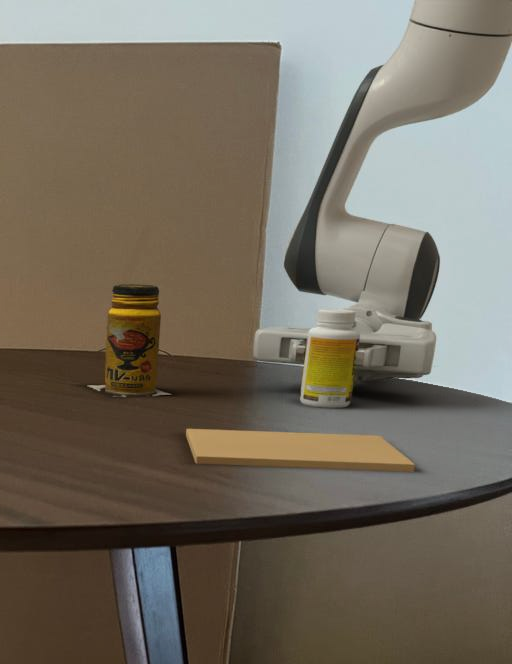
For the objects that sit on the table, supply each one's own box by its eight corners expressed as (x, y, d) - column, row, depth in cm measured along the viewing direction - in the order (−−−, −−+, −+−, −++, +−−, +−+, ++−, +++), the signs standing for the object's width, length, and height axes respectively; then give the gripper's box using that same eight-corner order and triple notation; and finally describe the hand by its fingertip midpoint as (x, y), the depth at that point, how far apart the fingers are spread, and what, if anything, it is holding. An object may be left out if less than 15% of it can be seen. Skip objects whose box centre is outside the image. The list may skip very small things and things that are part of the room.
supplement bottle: (356, 410, 113) (370, 313, 109) (306, 409, 113) (318, 312, 109) (342, 401, 118) (354, 308, 114) (293, 400, 118) (305, 307, 114)
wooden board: (378, 444, 96) (380, 435, 96) (413, 473, 85) (415, 464, 85) (185, 436, 97) (186, 428, 97) (195, 465, 86) (196, 455, 86)
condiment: (114, 398, 117) (120, 287, 112) (85, 387, 124) (90, 282, 119) (171, 396, 119) (180, 287, 114) (140, 385, 126) (147, 282, 122)
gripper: (272, 311, 127) (240, 320, 116) (446, 322, 119) (430, 332, 107) (266, 364, 130) (234, 377, 118) (437, 378, 121) (420, 393, 110)
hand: (329, 355), depth 113 cm, fingers closed on supplement bottle, 5 cm apart
